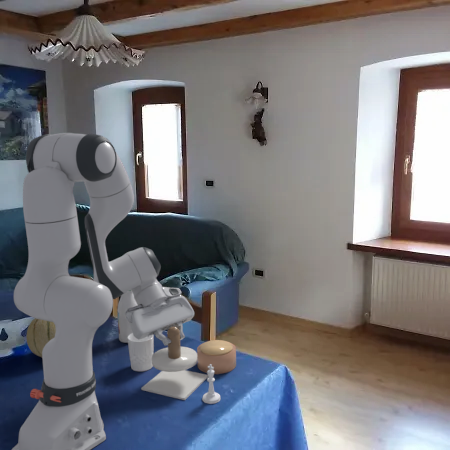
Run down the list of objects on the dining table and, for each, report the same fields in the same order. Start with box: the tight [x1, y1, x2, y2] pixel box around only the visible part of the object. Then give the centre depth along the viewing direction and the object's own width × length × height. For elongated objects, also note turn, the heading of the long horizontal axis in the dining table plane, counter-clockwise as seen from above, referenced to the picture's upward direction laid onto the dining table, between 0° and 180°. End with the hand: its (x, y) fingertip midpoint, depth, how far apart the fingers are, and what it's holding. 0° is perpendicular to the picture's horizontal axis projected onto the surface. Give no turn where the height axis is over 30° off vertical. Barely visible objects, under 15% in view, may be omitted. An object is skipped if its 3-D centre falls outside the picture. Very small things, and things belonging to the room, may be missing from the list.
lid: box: [152, 327, 198, 372], centre depth 137 cm, size 13×13×10 cm
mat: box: [141, 370, 209, 401], centre depth 139 cm, size 14×14×1 cm
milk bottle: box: [117, 290, 137, 344], centre depth 169 cm, size 8×8×20 cm
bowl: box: [196, 339, 237, 375], centre depth 150 cm, size 12×12×6 cm
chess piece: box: [201, 364, 221, 405], centre depth 130 cm, size 5×5×10 cm
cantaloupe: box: [26, 318, 56, 358], centre depth 158 cm, size 15×15×15 cm
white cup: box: [127, 333, 155, 372], centre depth 149 cm, size 8×8×10 cm
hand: (175, 341), depth 137 cm, fingers closed on lid, 4 cm apart
